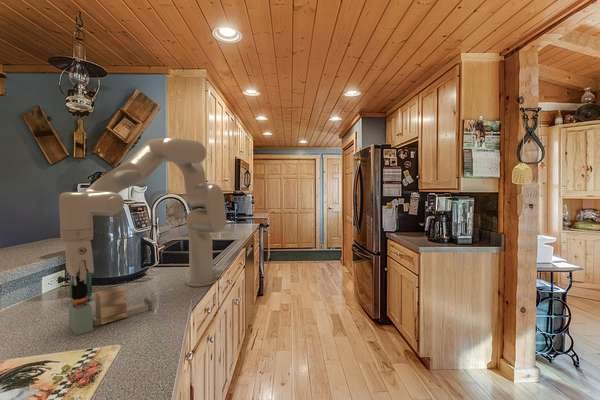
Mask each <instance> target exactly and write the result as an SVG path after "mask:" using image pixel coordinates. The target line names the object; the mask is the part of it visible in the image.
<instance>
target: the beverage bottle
mask: <svg viewBox="0 0 600 400" xmlns="http://www.w3.org/2000/svg"><path fill="white" fill-rule="evenodd" d="M71 285H72V281H71V274H69V294H70V300H71V301H72V288H71ZM73 285H74V284H73ZM86 292H87V299H90V298H91V297H92V295H93V286H92V274H90V273H88V272H87V271H86Z"/></svg>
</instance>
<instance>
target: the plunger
mask: <svg viewBox="0 0 600 400" xmlns="http://www.w3.org/2000/svg"><path fill="white" fill-rule="evenodd" d="M88 300H89V298H87V296H86V297H84V298H80V299H76V300H74V299H73V298H72V300H71V303H72V304H75V308H77V307H81V306H85V302H88Z"/></svg>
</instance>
